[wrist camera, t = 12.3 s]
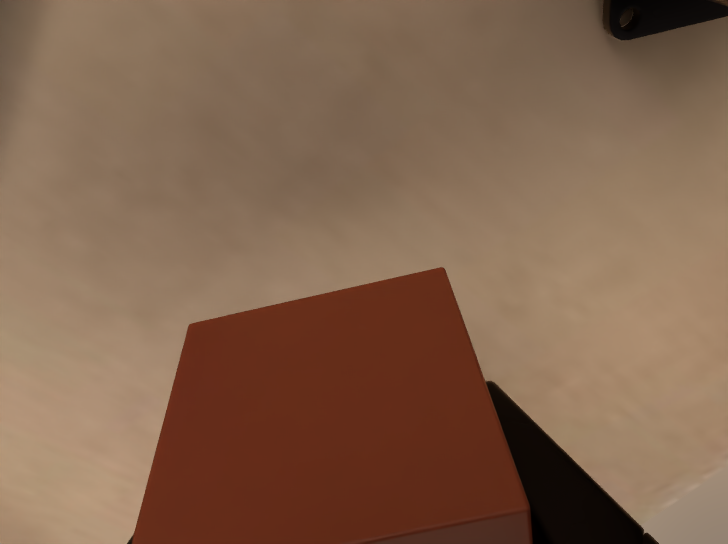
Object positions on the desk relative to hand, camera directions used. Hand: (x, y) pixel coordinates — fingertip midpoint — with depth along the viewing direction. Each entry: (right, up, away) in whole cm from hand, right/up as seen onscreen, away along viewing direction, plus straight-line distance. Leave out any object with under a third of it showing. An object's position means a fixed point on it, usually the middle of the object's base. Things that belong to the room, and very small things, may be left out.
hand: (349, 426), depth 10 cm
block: (0, +1, +1) cm, 1 cm away
